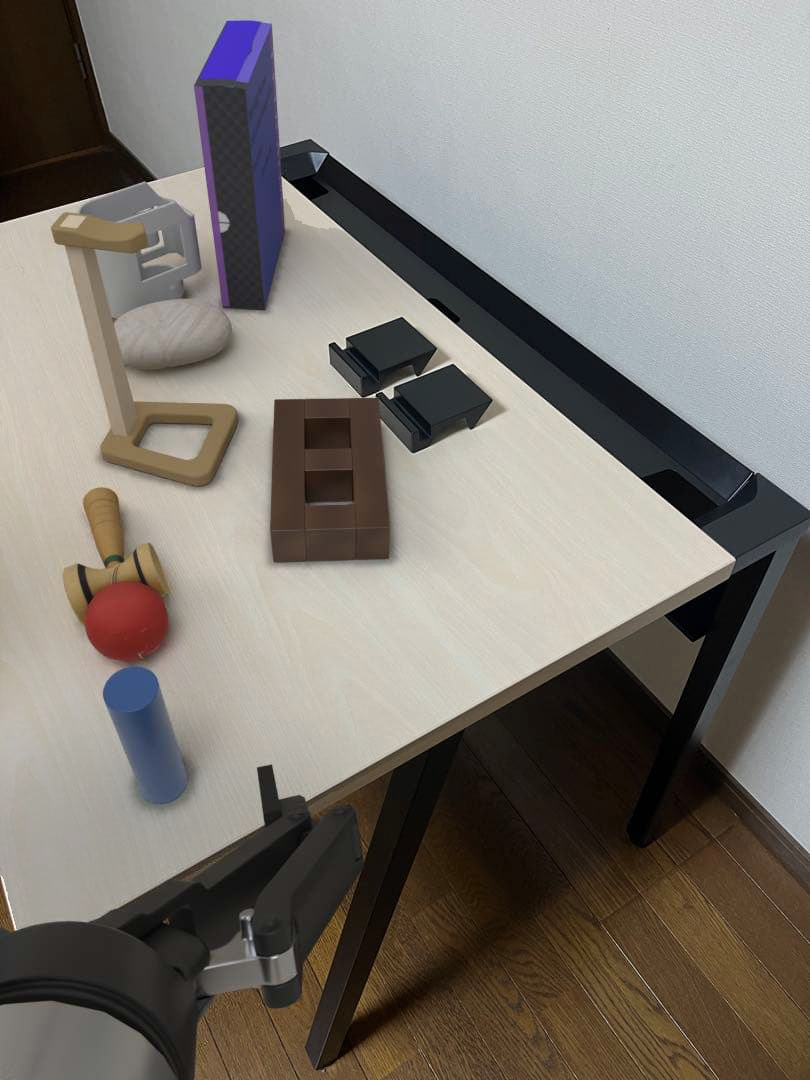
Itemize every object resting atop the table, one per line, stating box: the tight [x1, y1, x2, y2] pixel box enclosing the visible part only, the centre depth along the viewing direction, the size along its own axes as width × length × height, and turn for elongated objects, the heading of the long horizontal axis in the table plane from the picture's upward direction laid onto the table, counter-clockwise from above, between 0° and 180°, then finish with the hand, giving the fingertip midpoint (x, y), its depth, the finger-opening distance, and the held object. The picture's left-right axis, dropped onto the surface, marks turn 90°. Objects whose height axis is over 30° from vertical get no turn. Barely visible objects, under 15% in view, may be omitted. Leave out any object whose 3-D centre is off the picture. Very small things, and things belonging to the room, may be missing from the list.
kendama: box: [62, 486, 170, 662], centre depth 70 cm, size 8×6×18 cm
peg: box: [102, 665, 188, 805], centre depth 56 cm, size 3×3×12 cm
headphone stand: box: [50, 211, 239, 487], centre depth 75 cm, size 10×11×22 cm
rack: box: [269, 397, 391, 563], centre depth 78 cm, size 10×17×4 cm, turn 5°
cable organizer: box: [76, 181, 203, 321], centre depth 94 cm, size 7×12×12 cm, turn 134°
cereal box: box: [193, 19, 286, 311], centre depth 95 cm, size 17×5×24 cm, turn 178°
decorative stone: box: [113, 298, 233, 370], centre depth 91 cm, size 13×9×5 cm
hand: (126, 823), depth 41 cm, fingers open, 13 cm apart
